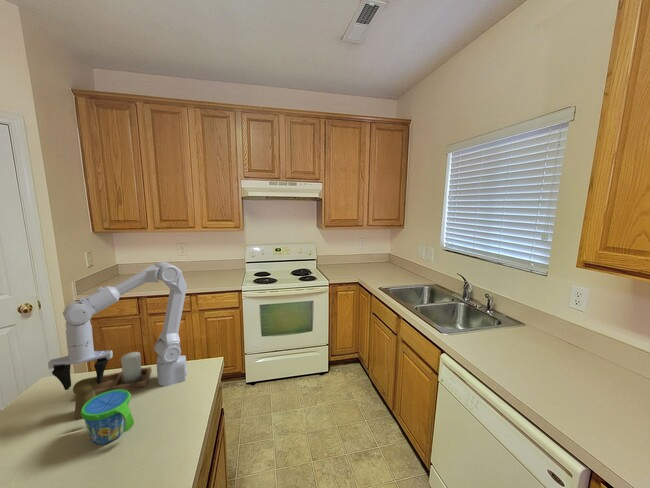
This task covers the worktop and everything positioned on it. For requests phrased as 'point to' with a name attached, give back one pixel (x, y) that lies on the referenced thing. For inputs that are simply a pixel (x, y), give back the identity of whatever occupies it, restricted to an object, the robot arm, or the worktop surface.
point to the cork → (83, 394)
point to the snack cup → (107, 416)
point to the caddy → (121, 382)
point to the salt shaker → (131, 367)
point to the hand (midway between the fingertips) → (84, 384)
